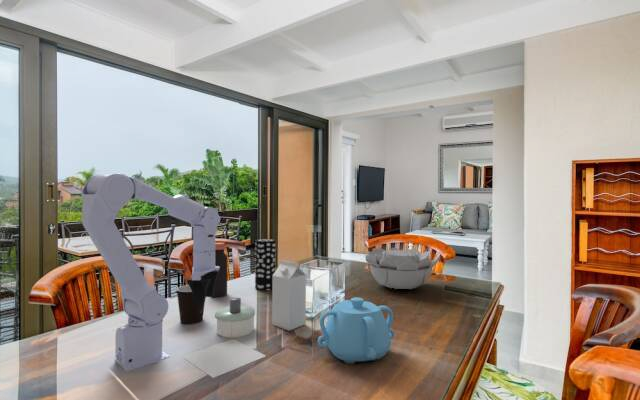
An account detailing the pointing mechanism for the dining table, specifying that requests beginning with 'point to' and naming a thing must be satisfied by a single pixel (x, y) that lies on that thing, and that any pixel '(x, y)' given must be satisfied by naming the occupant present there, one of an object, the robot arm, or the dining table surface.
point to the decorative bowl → (400, 267)
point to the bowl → (235, 327)
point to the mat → (223, 357)
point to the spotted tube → (264, 263)
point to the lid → (234, 312)
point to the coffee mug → (188, 306)
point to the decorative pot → (357, 330)
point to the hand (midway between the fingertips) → (204, 300)
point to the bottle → (221, 280)
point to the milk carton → (288, 296)
